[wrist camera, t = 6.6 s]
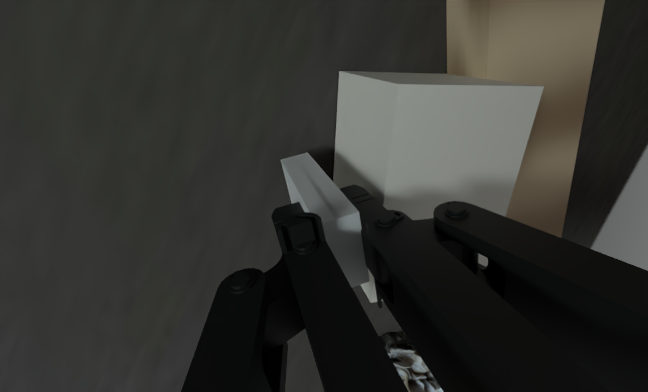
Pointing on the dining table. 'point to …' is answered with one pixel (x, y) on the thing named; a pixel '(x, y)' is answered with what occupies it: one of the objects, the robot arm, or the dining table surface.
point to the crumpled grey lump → (409, 363)
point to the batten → (534, 69)
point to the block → (431, 140)
